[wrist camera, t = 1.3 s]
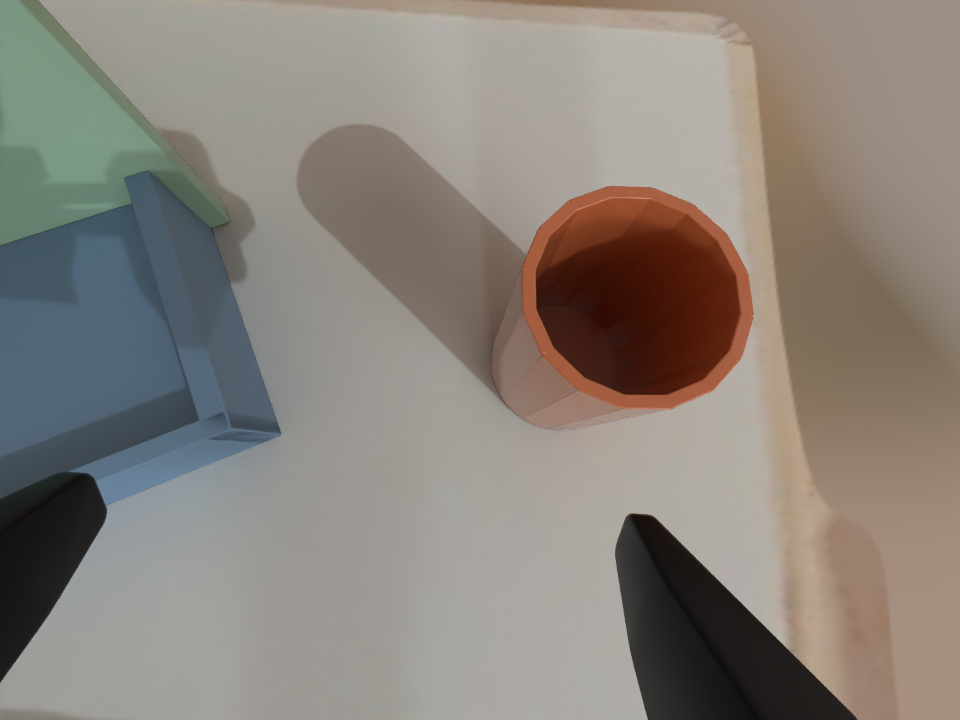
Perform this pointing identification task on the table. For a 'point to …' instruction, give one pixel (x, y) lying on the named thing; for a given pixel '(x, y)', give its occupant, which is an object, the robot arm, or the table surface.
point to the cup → (621, 311)
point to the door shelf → (108, 284)
